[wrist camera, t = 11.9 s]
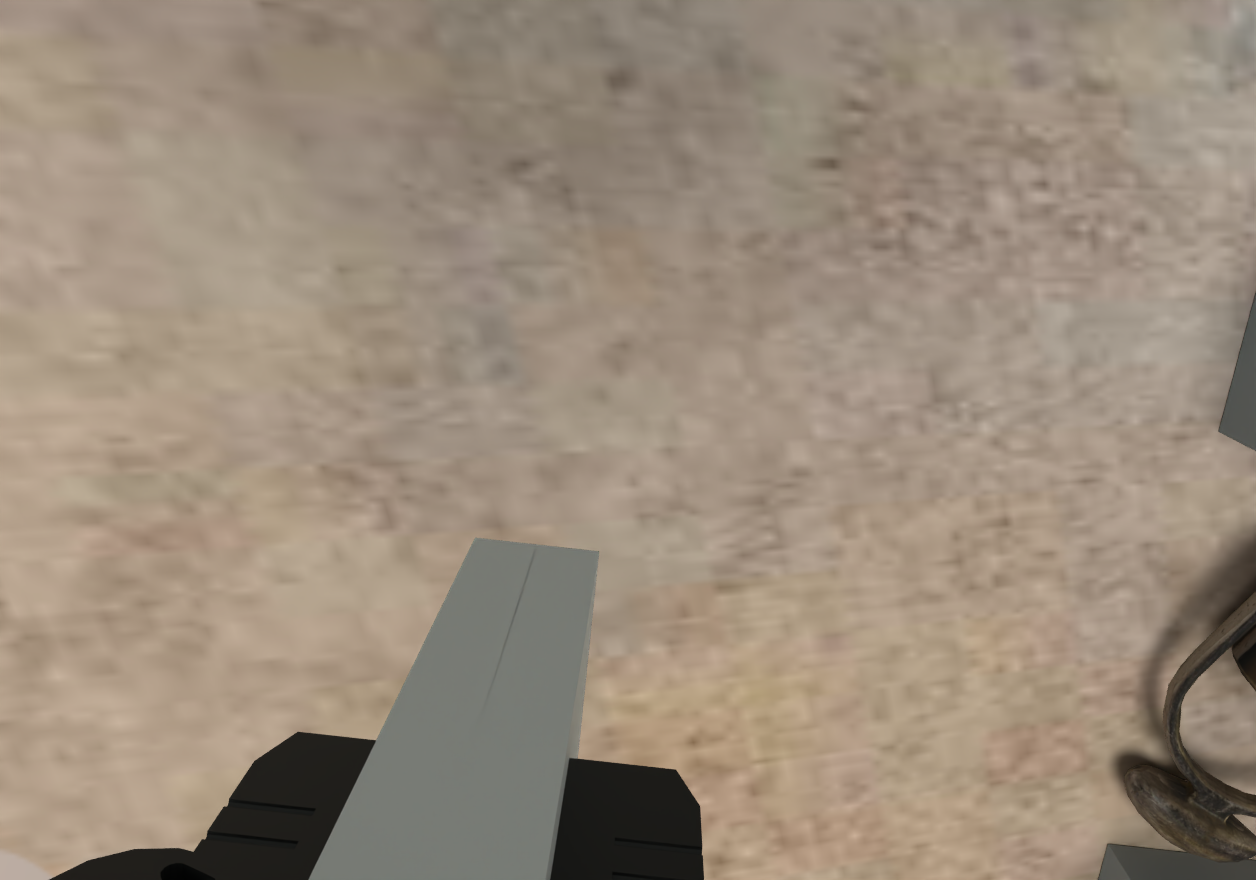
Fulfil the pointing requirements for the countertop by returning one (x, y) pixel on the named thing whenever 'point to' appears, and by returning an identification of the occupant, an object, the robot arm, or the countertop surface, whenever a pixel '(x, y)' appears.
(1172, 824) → the dark metal piece
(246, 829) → the robot arm
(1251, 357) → the rail bench
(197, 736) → the countertop surface
